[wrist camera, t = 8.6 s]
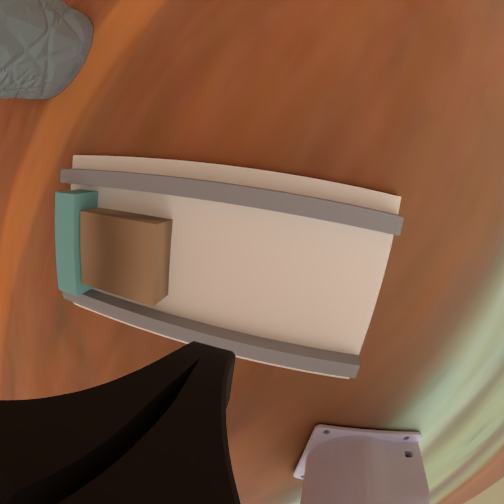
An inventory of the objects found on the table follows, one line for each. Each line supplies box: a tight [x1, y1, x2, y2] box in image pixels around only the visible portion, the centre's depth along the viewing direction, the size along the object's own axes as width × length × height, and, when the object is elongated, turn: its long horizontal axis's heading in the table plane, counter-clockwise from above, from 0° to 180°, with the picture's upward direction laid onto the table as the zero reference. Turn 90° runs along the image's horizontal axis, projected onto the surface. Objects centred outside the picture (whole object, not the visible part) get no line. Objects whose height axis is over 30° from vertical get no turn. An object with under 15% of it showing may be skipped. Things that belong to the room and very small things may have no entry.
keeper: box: [80, 207, 173, 306], centre depth 18 cm, size 6×5×2 cm
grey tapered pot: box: [0, 0, 93, 100], centre depth 12 cm, size 10×10×12 cm
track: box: [55, 155, 404, 379], centre depth 17 cm, size 22×12×3 cm, turn 82°
